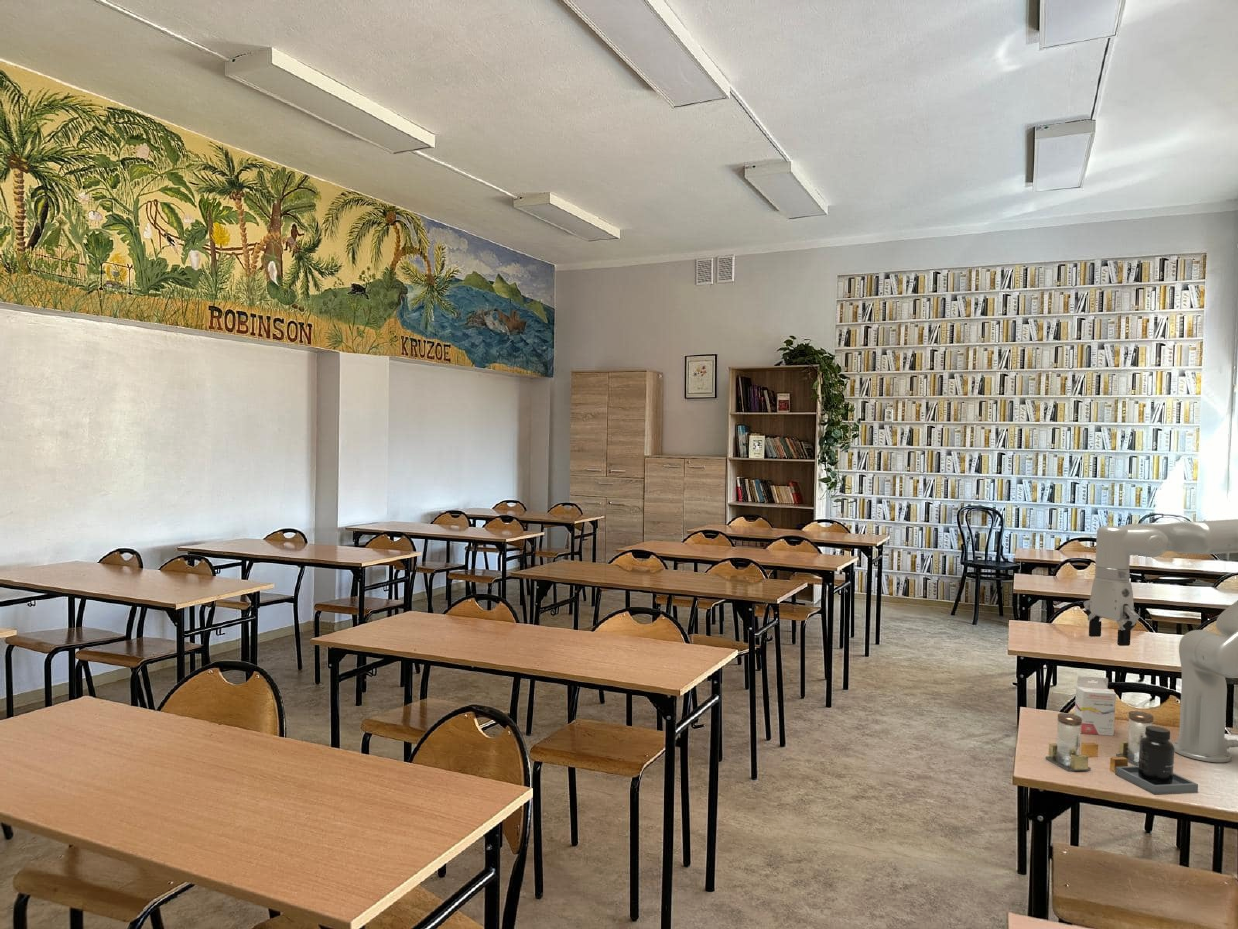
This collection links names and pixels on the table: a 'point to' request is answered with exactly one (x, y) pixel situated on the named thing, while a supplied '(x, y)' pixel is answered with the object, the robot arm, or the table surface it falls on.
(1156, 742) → the supplement bottle
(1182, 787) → the tray
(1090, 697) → the ink cartridge box
